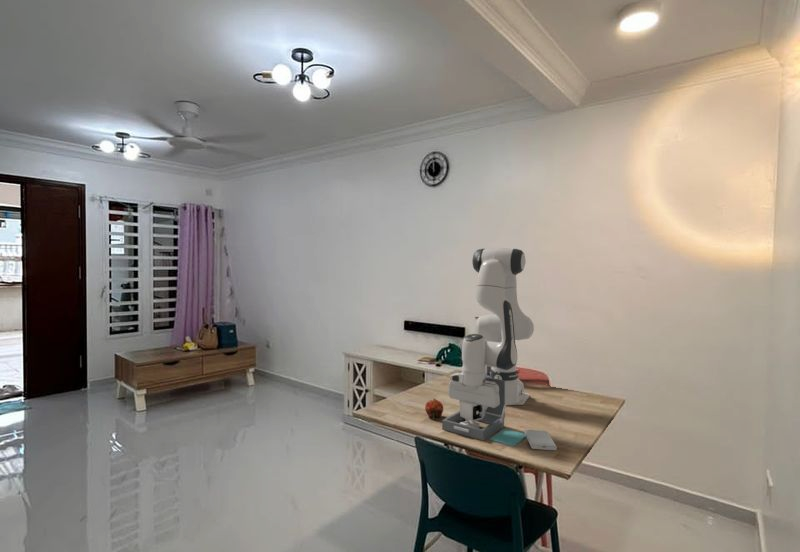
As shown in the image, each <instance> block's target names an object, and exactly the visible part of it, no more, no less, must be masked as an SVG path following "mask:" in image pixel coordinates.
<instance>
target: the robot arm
mask: <svg viewBox="0 0 800 552" xmlns="http://www.w3.org/2000/svg"><path fill="white" fill-rule="evenodd" d="M472 255H473V256H472V261H471V262H472V267H473V269H474V270H475V272H476V273H478V275H477V281H476V286H475V287H476V289H475V299H476V302H477V303H478V304H479V306H481V307H482V308H483V309H485V310H486V311H489V312H490V313H492V314H485V315H480V316H478V317H479V318H478V319H477V320H476V323H475V322H474V331H475V330H476V332H477V334H475V333H473V334H472V333H471V334H468V335H465V336H463V340H462V347H461V348H462V349H461V361H462V367H461V371H459V372H456V373H453V374H451V375H449V379H450V381H449V384H448V390H447V391H448V397H449V398H450V399H451V400H456V401H458V402H459V404H460V402H461V401H466V402H470V403H475V404H478V405H482V408H483V410H482V411H480V412H479V414H480V415H479V416H480V417H484V416H485V411H486V410H487V408H488V407H492V408H496V407H497V406H498V405H499V404H500V398H499V386H498V384H496V382H493V381H488V380H485V366H490V367H491V369H490V377H491V378H494V379H500V380H505V405H506V406H522V405H525V404H526V402H527V400H528V399H529V398H530V393H527V392H525V385H524V382H522V381H521V380H520V379H519V374H520V373H521V370H520V369H519V368H517V362H518V349H517V345H516V341H521V340H528V339H530V338H531V337H532V336H533V334H534V330H535V326H534V323H533V320H532V319H531V318H530V317H528V316H527V315H526V314H525V313H524V312H523V311H522V309H521V308H520V306H519V302H518V295H517V294H518V293H517V275H519V274H521V273H522V272H523V271H524V269H525V267H526V266H525V265H526V263H527V262H526V256H525V254H524V252H523V250H522V249H518V248H506V247H495V248H480V249H477V250H476V251H475V252H474V253H473V254H472ZM484 365H485V366H484ZM495 384H496V385H495Z"/></svg>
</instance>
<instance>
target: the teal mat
mask: <svg viewBox="0 0 800 552" xmlns="http://www.w3.org/2000/svg"><path fill="white" fill-rule="evenodd" d="M525 438H526V436H525V434H524V433H523V432H519V431H515V430H511V429H507V428H503V429H502V430H499V432H496V434H494V435H493V436H492V437H490V438H489V441H492V442H495V443H499V444H501V445H502V444H503V445H507V446H509V447H515V446H517V445H518V444H519V443H520V442H522V441H523V440H524V439H525Z"/></svg>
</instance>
